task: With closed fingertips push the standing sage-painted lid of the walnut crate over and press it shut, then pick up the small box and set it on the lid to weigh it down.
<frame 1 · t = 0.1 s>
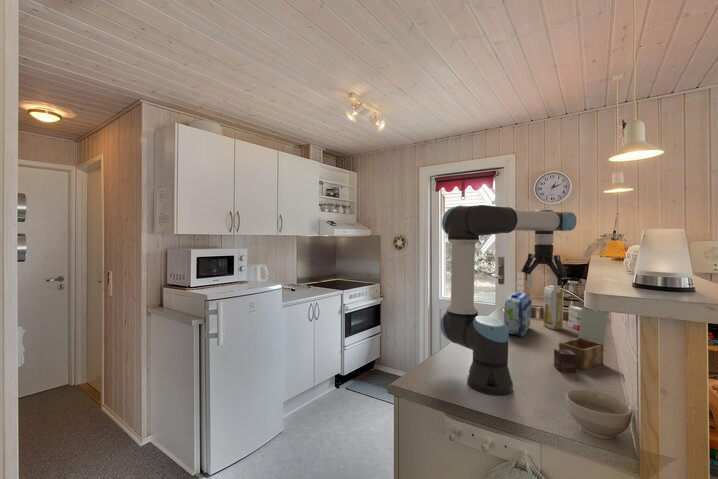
hand: (542, 290, 153), 28 cm above the countertop, fingers open, 13 cm apart
ink box: (576, 328, 190), on the countertop
box: (564, 370, 133), on the countertop
lid: (592, 324, 144), point 15 cm above the countertop, hinge at 100.0°
crate: (580, 362, 140), on the countertop
juice carton: (552, 327, 192), on the countertop
lunch box: (517, 331, 183), on the countertop
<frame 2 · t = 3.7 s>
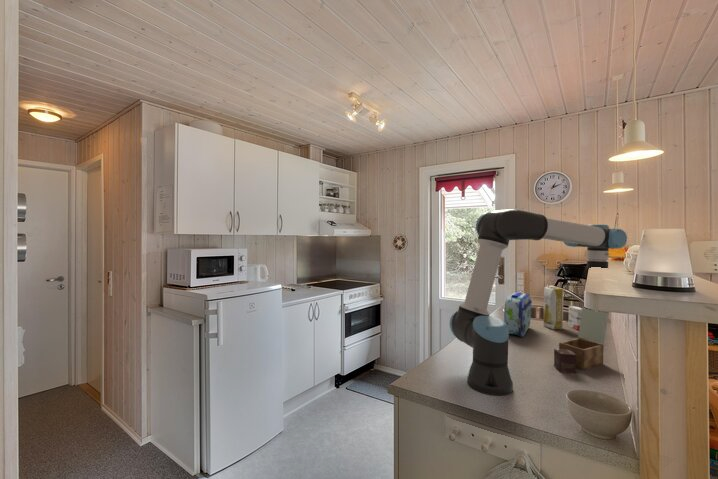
hand: (595, 314, 145), 19 cm above the countertop, fingers closed
lid: (592, 324, 144), point 15 cm above the countertop, hinge at 100.0°, touching gripper
everything else where it was.
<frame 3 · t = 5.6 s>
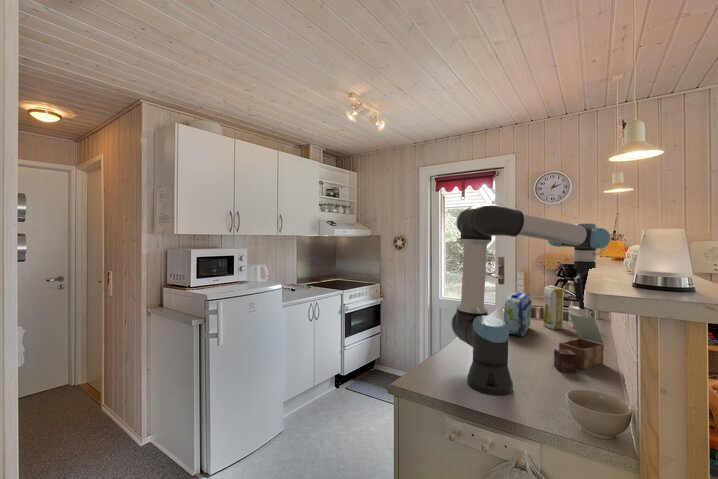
hand: (583, 316, 140), 19 cm above the countertop, fingers closed
lid: (586, 328, 141), point 14 cm above the countertop, hinge at 56.0°, touching gripper
everything else where it was.
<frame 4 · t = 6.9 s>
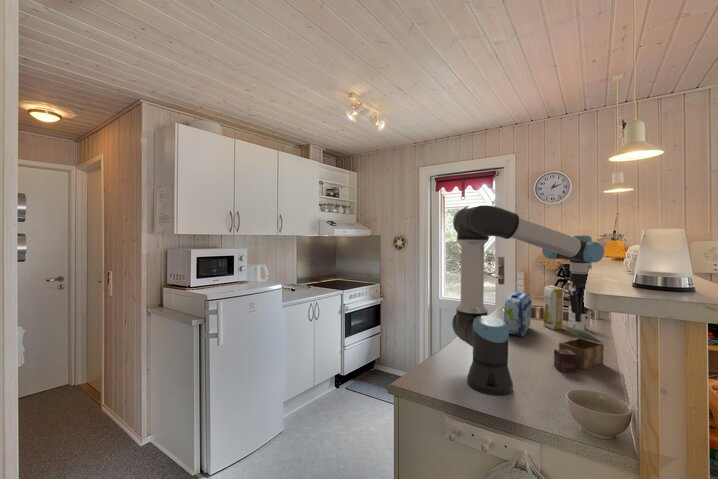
hand: (579, 329, 139), 14 cm above the countertop, fingers closed
lid: (583, 334, 140), point 12 cm above the countertop, hinge at 28.1°, touching gripper
everything else where it was.
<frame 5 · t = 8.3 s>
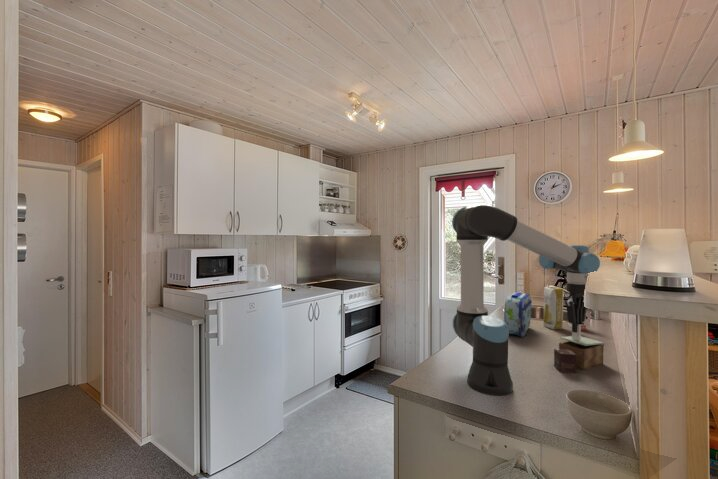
hand: (576, 339, 138), 10 cm above the countertop, fingers closed
lid: (581, 340, 140), point 9 cm above the countertop, hinge at 5.7°, touching gripper
everything else where it was.
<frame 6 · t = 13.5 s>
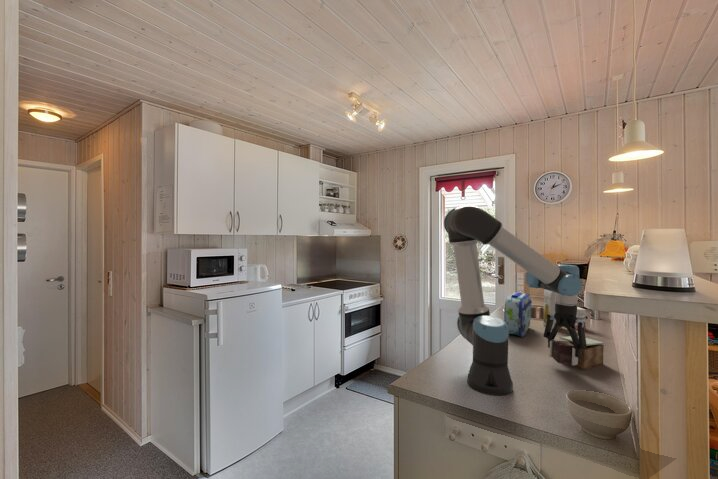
hand: (563, 360, 133), 4 cm above the countertop, fingers closed on box, 8 cm apart
box: (563, 361, 133), point 3 cm above the countertop, touching gripper
lid: (581, 340, 140), point 9 cm above the countertop, hinge at 5.7°
everything else where it was.
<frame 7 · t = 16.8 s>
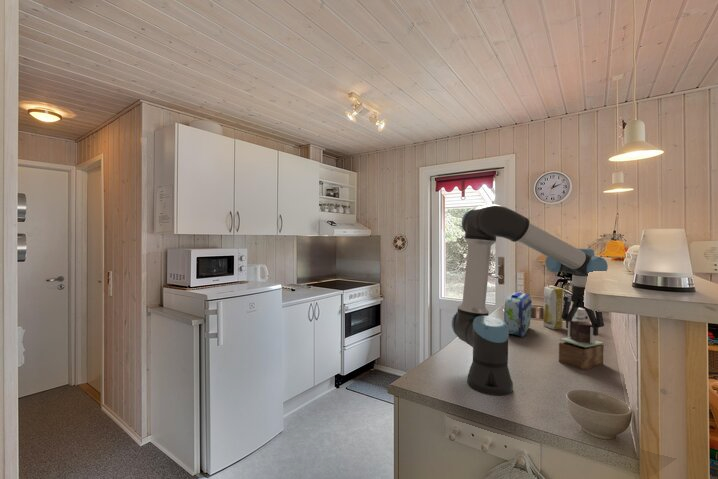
hand: (581, 339, 140), 10 cm above the countertop, fingers closed on box, 8 cm apart
box: (581, 340, 140), point 9 cm above the countertop, touching gripper, lid
lid: (581, 341, 140), point 9 cm above the countertop, hinge at 2.8°, touching box
everything else where it was.
when the fingers open (10 cm above the countertop, at t = 17.0 s): box stays where it is, resting on lid.
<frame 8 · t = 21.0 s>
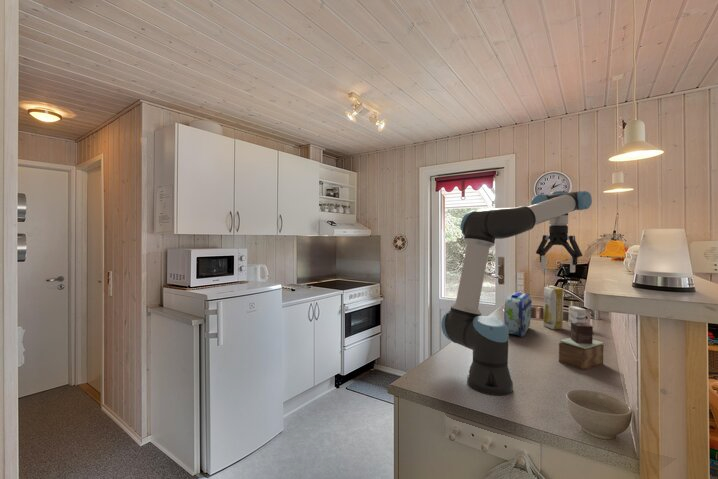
hand: (557, 270, 156), 37 cm above the countertop, fingers open, 13 cm apart
box: (581, 342, 140), point 9 cm above the countertop, touching lid
lid: (581, 342, 140), point 9 cm above the countertop, hinge at 0.0°, touching box
everything else where it was.
at the end: lid at +0° (first picture: +100°); box inside the target area on the crate (0.1 cm from its centre), point 8.8 cm above the crate's base; box tilted 0° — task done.
